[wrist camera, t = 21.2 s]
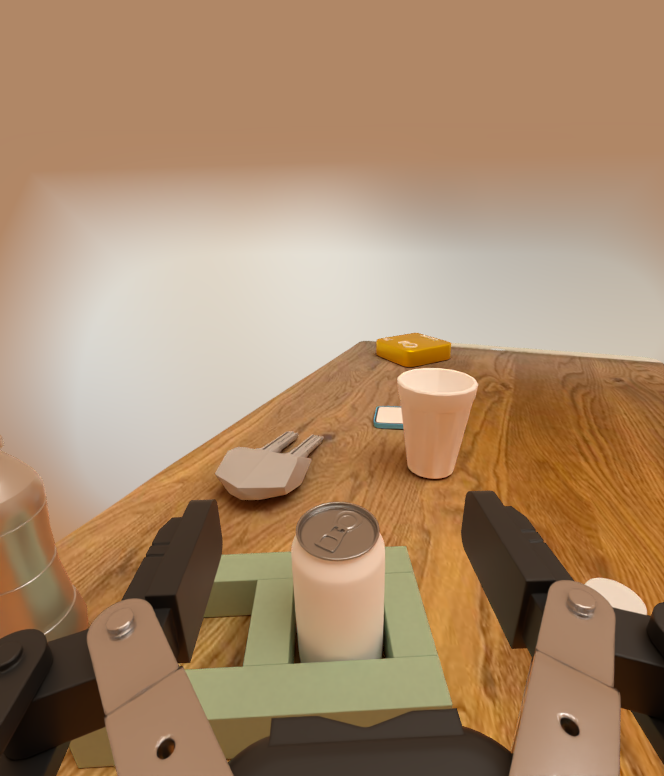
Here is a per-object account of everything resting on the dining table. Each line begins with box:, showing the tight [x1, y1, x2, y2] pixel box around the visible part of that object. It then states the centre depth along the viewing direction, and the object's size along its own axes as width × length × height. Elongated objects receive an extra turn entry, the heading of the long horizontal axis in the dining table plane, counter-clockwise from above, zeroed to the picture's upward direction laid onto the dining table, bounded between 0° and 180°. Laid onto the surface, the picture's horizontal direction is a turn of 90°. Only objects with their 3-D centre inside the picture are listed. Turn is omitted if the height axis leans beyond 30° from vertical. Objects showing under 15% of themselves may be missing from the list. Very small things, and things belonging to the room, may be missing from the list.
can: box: [291, 502, 385, 663], centre depth 28 cm, size 6×6×12 cm
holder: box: [69, 546, 452, 768], centre depth 30 cm, size 13×23×4 cm, turn 92°
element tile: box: [376, 333, 451, 367], centre depth 104 cm, size 15×15×5 cm
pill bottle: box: [585, 578, 647, 615], centre depth 27 cm, size 4×4×8 cm
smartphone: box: [374, 406, 403, 429], centre depth 68 cm, size 8×1×15 cm
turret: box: [215, 431, 323, 500], centre depth 54 cm, size 10×20×5 cm, turn 161°
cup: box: [397, 368, 478, 479], centre depth 52 cm, size 10×10×13 cm
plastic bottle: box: [0, 435, 88, 642], centre depth 27 cm, size 6×7×20 cm
